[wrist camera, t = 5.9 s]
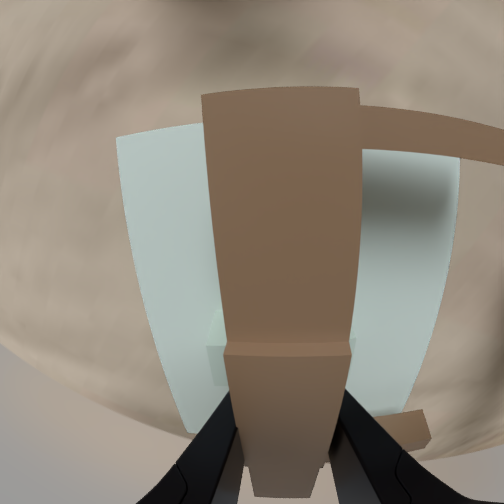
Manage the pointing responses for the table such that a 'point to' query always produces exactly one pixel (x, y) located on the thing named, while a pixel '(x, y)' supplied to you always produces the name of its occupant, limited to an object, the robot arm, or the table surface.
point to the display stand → (207, 282)
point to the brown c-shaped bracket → (302, 259)
